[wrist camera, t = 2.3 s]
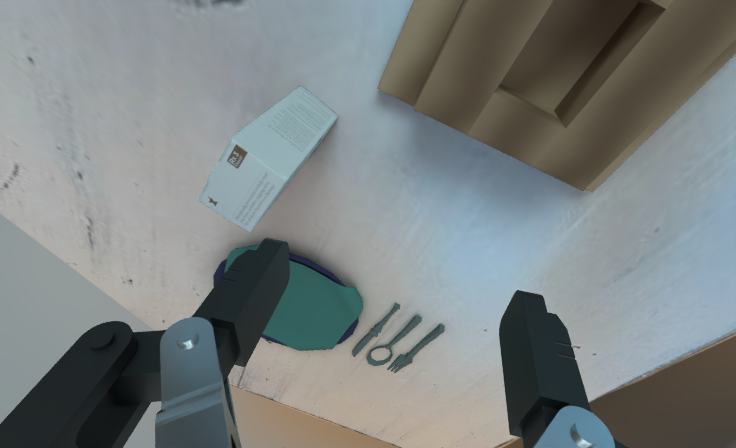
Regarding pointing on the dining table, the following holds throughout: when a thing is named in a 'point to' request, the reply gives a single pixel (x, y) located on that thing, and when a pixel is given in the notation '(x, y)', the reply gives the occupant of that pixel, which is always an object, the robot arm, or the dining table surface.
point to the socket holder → (559, 73)
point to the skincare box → (266, 158)
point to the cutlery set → (323, 312)
